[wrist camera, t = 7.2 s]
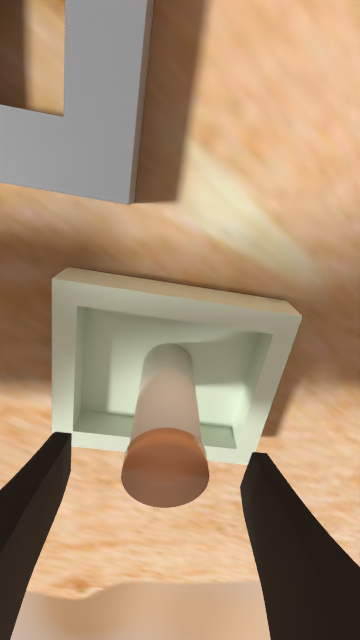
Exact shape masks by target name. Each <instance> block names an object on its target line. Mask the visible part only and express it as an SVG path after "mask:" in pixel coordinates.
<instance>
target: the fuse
mask: <svg viewBox="0 0 360 640" xmlns="http://www.w3.org/2000/svg"><path fill="white" fill-rule="evenodd" d="M121 478H122V483H123V486H124V488H125V490H126V491H127V493H128V494H129V495H130V496H132V497H133V498H134V499H136V500H137V501H139V502H141V503H143V504H146V505H149V506H153V507H161V508H169V507H176V506H181V505H184V504H186V503H189V502H191V501H193V500H194V499H196V498H197V497H198V496H199V495H201V494H202V492H203V491H204V490H205V488H206V487H207V484H208V481H209V470H208V462H207V455H206V451H205V448H204V446H203V443H202V435H201V427H200V419H199V411H198V403H197V395H196V387H195V379H194V371H193V363H192V359H191V356H190V355H189V353H188V352H187V351H186V350H185V349H184V348H182V347H180V346H178V345H175V344H160V345H158V346H155V347H153V348H152V349H151V350H150V351H149V352H148V353H147V354H146V356H145V358H144V361H143V367H142V373H141V379H140V385H139V390H138V396H137V402H136V408H135V414H134V420H133V426H132V431H131V437H130V443H129V446H128V447H127V449H126V452H125V457H124V462H123V468H122V475H121Z"/></svg>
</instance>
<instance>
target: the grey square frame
mask: <svg viewBox="0 0 360 640" xmlns="http://www.w3.org/2000/svg"><path fill="white" fill-rule="evenodd" d="M153 10H154V0H65V60H64V117H62V116H57V115H51V114H46V113H41V112H36V111H31V110H26V109H21V108H16V107H10V106H5V105H0V182H1V183H6V184H12V185H18V186H23V187H29V188H35V189H41V190H46V191H52V192H58V193H64V194H69V195H75V196H81V197H87V198H92V199H98V200H104V201H109V202H115V203H121V204H127V205H129V204H133V203H134V202H135V191H136V181H137V171H138V161H139V151H140V141H141V131H142V121H143V111H144V100H145V90H146V80H147V70H148V60H149V50H150V40H151V30H152V20H153Z"/></svg>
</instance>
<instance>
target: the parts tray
mask: <svg viewBox="0 0 360 640" xmlns="http://www.w3.org/2000/svg"><path fill="white" fill-rule="evenodd" d="M302 317H303V316H302V315H301V314H300V313H299V312H298V311H297V310H296V309H295V308H294V307H292V306H291V305H290V304H289V303H288V302H287V301H286V300H279V299H273V298H266V297H260V296H253V295H247V294H240V293H234V292H227V291H221V290H215V289H208V288H202V287H195V286H189V285H182V284H176V283H169V282H163V281H156V280H150V279H143V278H137V277H130V276H124V275H118V274H111V273H105V272H98V271H92V270H85V269H79V268H72V267H67V268H66V269H65V270H63V271H62V272H60V273H59V274H57V275H56V276H55V277H53V278H52V434H53V433H54V432H65V433H72V442H71V446H74V447H83V448H93V449H102V450H111V451H121V452H126V449H127V447H128V446H129V443H130V437H131V431H132V426H133V420H134V414H135V408H136V402H137V396H138V390H139V385H140V379H141V373H142V367H143V361H144V358H145V356H146V354H147V353H148V352H149V351H150V350H151V349H152V348H153V347H155V346H158V345H160V344H175V345H178V346H180V347H182V348H184V349H185V350H186V351H187V352H188V353H189V355H190V356H191V359H192V363H193V371H194V379H195V387H196V395H197V403H198V411H199V419H200V427H201V435H202V443H203V446H204V448H205V451H206V455H207V461H216V462H225V463H234V464H244V465H248V463H249V460H250V457H251V454H252V452H255V451H256V448H257V445H258V442H259V439H260V437H261V434H262V431H263V428H264V425H265V422H266V420H267V417H268V414H269V411H270V408H271V405H272V403H273V400H274V397H275V394H276V391H277V388H278V385H279V383H280V380H281V377H282V374H283V371H284V368H285V366H286V363H287V360H288V357H289V354H290V351H291V349H292V346H293V343H294V340H295V337H296V334H297V332H298V329H299V326H300V323H301V320H302Z"/></svg>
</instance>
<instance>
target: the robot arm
mask: <svg viewBox="0 0 360 640" xmlns="http://www.w3.org/2000/svg"><path fill="white" fill-rule="evenodd" d="M71 442H72V433H65V432H54V433H53V434H52V435H51V436H50V437H49V439H48V440H47V441H46V442H45V443H44V444H43V446H42V447H41V448H40V449H39V450H38V451H37V452H36V454H35V455H34V456H33V457H32V458H31V459H30V460H29V461H28V462H27V463H26V464H25V466H24V467H23V468H22V469H21V470H20V471H19V472H18V473H17V474H16V475H15V476H14V477H13V478H12V479H11V480H10V481H9V482H8V483H7V484H6V485H5V486H4V487H3V488H2V489H1V490H0V640H10V638H11V635H12V632H13V629H14V626H15V623H16V619H17V616H18V613H19V610H20V607H21V604H22V601H23V598H24V595H25V592H26V589H27V586H28V583H29V580H30V578H31V575H32V572H33V570H34V567H35V564H36V562H37V560H38V557H39V555H40V552H41V550H42V548H43V545H44V543H45V540H46V538H47V535H48V533H49V531H50V528H51V526H52V523H53V521H54V518H55V516H56V514H57V511H58V509H59V506H60V504H61V501H62V498H63V495H64V492H65V489H66V485H67V482H68V478H69V475H70V472H71ZM240 490H241V498H242V506H243V512H244V518H245V522H246V526H247V530H248V534H249V538H250V542H251V546H252V550H253V554H254V558H255V562H256V566H257V570H258V574H259V578H260V582H261V587H262V591H263V596H264V601H265V607H266V613H267V619H268V625H269V631H270V637H271V640H360V567H359V566H358V565H357V564H356V563H355V562H354V561H353V560H352V559H351V558H350V556H349V555H348V554H347V553H346V552H345V551H344V550H343V549H342V548H341V547H340V546H339V545H338V544H337V543H336V541H335V540H334V539H333V538H332V537H331V536H330V535H329V534H328V532H327V531H326V530H325V529H324V528H323V527H322V525H321V524H320V523H319V522H318V521H317V519H316V518H315V517H314V516H313V515H312V513H311V512H310V511H309V510H308V508H307V507H306V506H305V504H304V503H303V502H302V501H301V499H300V498H299V497H298V495H297V494H296V493H295V491H294V490H293V489H292V487H291V486H290V485H289V483H288V482H287V481H286V479H285V478H284V477H283V475H282V474H281V472H280V471H279V470H278V468H277V467H276V465H275V464H274V463H273V461H272V460H271V459H270V457H269V456H268V454H267V453H258V452H252V454H251V457H250V460H249V463H248V466H247V469H246V472H245V474H244V477H243V480H242V483H241V486H240Z"/></svg>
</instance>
